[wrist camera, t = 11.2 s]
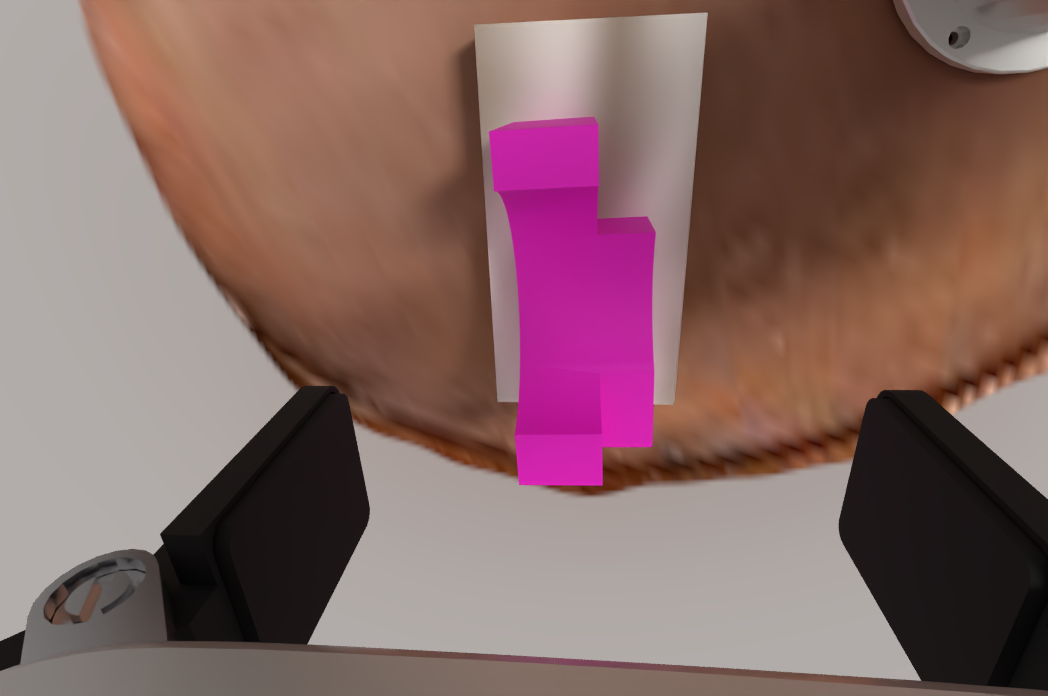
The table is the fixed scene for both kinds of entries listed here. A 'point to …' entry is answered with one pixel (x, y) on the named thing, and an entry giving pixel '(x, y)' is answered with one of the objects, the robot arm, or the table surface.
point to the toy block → (574, 304)
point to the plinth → (600, 147)
